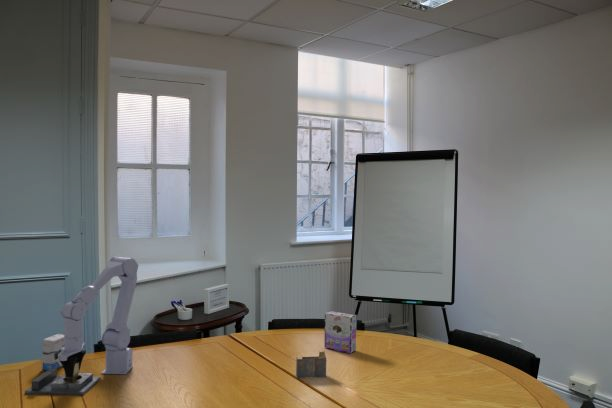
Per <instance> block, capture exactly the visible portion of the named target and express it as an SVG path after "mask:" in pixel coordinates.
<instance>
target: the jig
mask: <svg viewBox="0 0 612 408" xmlns="http://www.w3.org/2000/svg"><path fill="white" fill-rule="evenodd" d="M57 371H58V368H57V369H49V370H45V372H43V373H42V374H40V375H38V376H37V377H36V378H34V379H33V380H31V386H30V387H28V388H26V389H25V391H24V395H52V396H53V395H56V396H57V395H61V396H63V395H65V396H67V395H69V396H84V395H85V394H86V393H88V392H89V391H90V390H91V389H92V388H93V387H94V386H95V385H96V384H97V383H98V382H99V381H100V380H101V376H94V373H93V372H79V380H76V381H65V373H64V374H62V375H57Z"/></svg>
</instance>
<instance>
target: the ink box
mask: <svg viewBox="0 0 612 408" xmlns="http://www.w3.org/2000/svg"><path fill="white" fill-rule="evenodd" d="M62 348H64V334H62V333H56V334H54V335H51V336H49V337H46V338H43V340H42V363H41V364H42V367H41V369H42V370H43V371H47V370H49V369H57V370H58V369H59V368H61V367H63V366H62V364H61V362H60V361H59V358H60V355H61V354H62V352H63V351H61V349H62Z"/></svg>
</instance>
